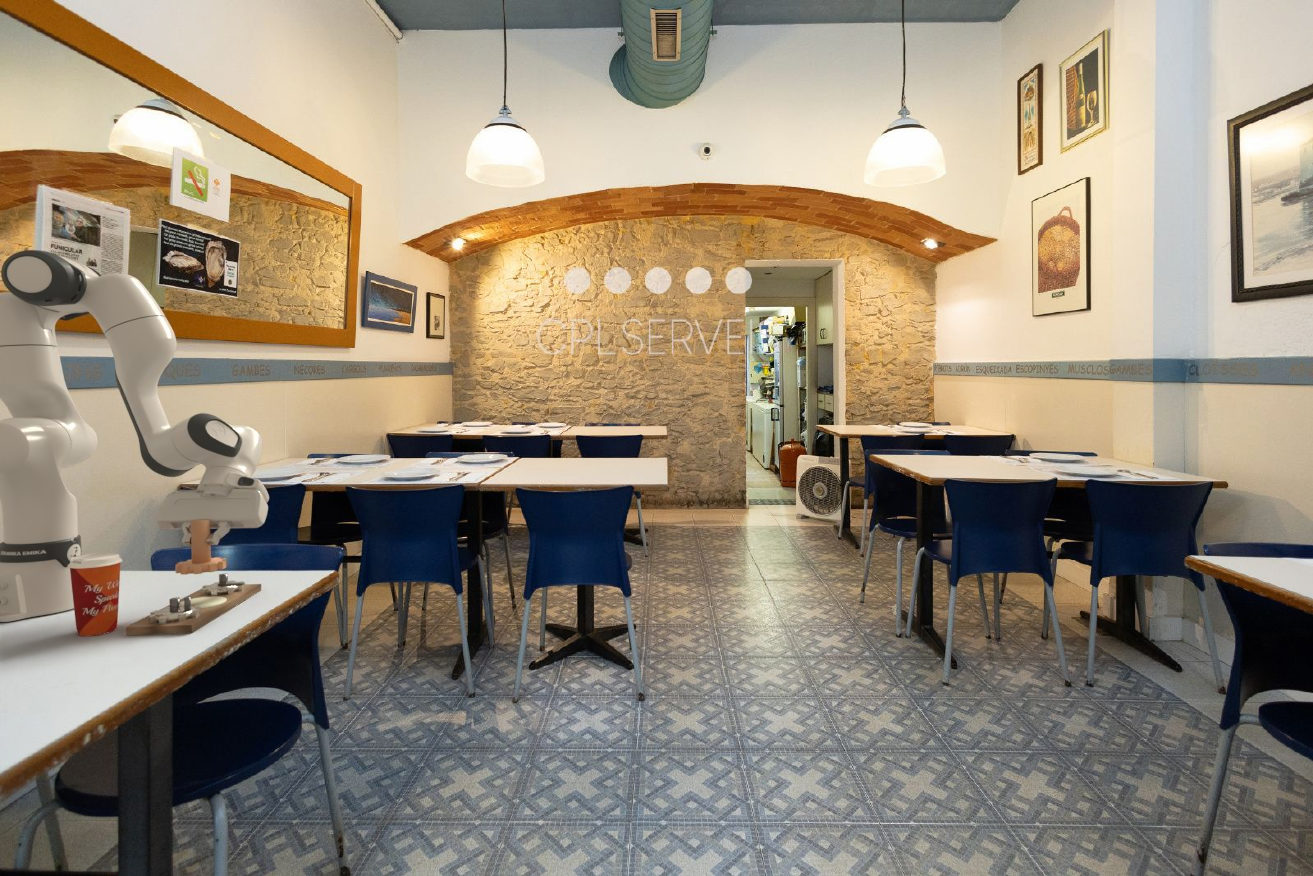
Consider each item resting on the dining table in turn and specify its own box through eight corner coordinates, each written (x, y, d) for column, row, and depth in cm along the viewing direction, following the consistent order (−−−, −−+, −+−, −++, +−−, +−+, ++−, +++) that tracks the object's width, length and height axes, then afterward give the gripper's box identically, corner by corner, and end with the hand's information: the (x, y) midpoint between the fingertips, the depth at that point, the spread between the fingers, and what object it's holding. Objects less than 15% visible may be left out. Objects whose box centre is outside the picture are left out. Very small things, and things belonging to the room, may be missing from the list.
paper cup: (92, 640, 115) (90, 562, 115) (57, 636, 117) (55, 559, 116) (135, 625, 123) (133, 552, 122) (102, 622, 125) (101, 550, 124)
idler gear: (166, 575, 128) (164, 524, 127) (190, 564, 136) (189, 517, 135) (213, 573, 129) (211, 523, 128) (234, 563, 137) (233, 516, 137)
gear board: (125, 635, 118) (125, 626, 118) (208, 591, 146) (208, 584, 146) (192, 633, 120) (191, 624, 120) (261, 590, 147) (261, 583, 147)
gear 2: (193, 596, 137) (193, 579, 137) (213, 586, 145) (213, 570, 145) (234, 595, 138) (234, 578, 138) (252, 585, 146) (251, 569, 146)
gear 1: (138, 624, 119) (138, 604, 119) (164, 611, 127) (164, 592, 127) (185, 623, 120) (185, 603, 120) (208, 610, 128) (208, 591, 128)
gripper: (163, 481, 137) (135, 536, 128) (267, 479, 140) (247, 533, 131) (176, 499, 141) (150, 553, 132) (277, 497, 144) (258, 550, 135)
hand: (199, 543), depth 131 cm, fingers closed on idler gear, 3 cm apart
